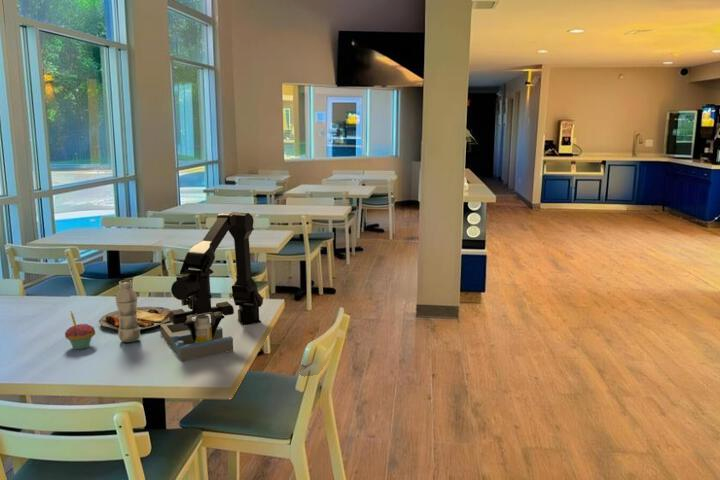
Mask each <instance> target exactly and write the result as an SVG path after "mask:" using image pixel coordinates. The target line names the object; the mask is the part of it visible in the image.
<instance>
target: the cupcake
mask: <svg viewBox="0 0 720 480" xmlns="http://www.w3.org/2000/svg"><path fill="white" fill-rule="evenodd" d="M70 316H71V320H72V323H73V326H69V327H68V329H66V330H65V332H64V336H65V339H66V340H68V341H69V342H70V344H71V347H72V349H74V350H83V349H87V348H89V347H90V345H91V340H92V338H93V337H94V336H95V335H96V330H95V328H94V326H92V325H91V324H88V323H87V324H86V323H79V324H77V323H76V318H75V316H74V313H73V312H72V310H71V311H70Z"/></svg>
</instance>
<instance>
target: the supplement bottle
mask: <svg viewBox="0 0 720 480" xmlns="http://www.w3.org/2000/svg"><path fill="white" fill-rule="evenodd" d="M195 319H196V324H195V325H194V327H195V336H196V339H195V343H198V342H203V341H208V340H212V325H211V321H210V322H209V320H210V315H208V314H207V315H201V316H195Z"/></svg>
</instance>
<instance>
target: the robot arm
mask: <svg viewBox="0 0 720 480" xmlns="http://www.w3.org/2000/svg"><path fill="white" fill-rule="evenodd" d="M253 217H254V216H253V215H252V214H251V213H250V212H238V211H237V212H234V211H232V212H230V213H228V212H227V213H226V212H224V213H223V212H221V213H219V214H217V216H216V220H215V221H214V223H213V224H212V225H211V227H210V229H209V230H208V231H207V233H206V234H205V236H204V237H203V239H202V241H200V242H199V243H197V244H195V245H193V246H191V248H190V249H189V250H188V252H186V254H185V257H184V260H183V262H182V266H181V268H180V270H179V274H180V275H178V276H176V277H175V278H176V279H175V281H174V282H173V283H172V285H171V289H170V290H171V294H172V296H173V298H175V299H177V300H179V301H180V302H181V306H184V307H185V306H187V307H188V309H190V310H189V311H185V310H184V309H183V308H180V309H173V310H172V309H171V310H172V311H170V313H169V319H170V323H173V324H180V323H183V324H184V325H187V327H188V329H189V331H190V333H191V336H192V338H193V340H194V341H195V339H196V336H195V327H194V322H193V321H192V319H193V318H196V317H197V316H201V315H207V316H208V315H209V318H210V323H211V325H212V337H214V334H215V332H216V329H217V327H219V324H220V322H221V321H222V320H223V319H225V316H232V315H234V314H235V310H234V306H233V305H232V304H231V303H229V302H228V301H222V302H216V304H215V306H213V307H212V300H211V299H212V298H213V297H212V294H211V279H210V278H211V276H210V275H212V274H214V270H213V269H211V268H212V266H213V263H214V261H215V259H216V254H215V252H216V250H217V248H218V247H219V245H220V244H221V243H222V241H223V240H224V238H225V236H226V235H227V233H228V232H229V234H230V235H231V237H232V238H233V242H234V256H235V267H236V268H235V270H236V280H235V282H234V284H232V286H231V293H232V294H231V297H232V300H233V303H234V305H235V306H238V310H237V321H238V322H239V323H241V325H243V326H248V325H255V324H259V323H262V321H261V319H260V308H261V307H262V305H263V303H264V298H263V296H262V295H261V294H260V293H259V292H258V285H257V284H256V282H255V280H254V278H252V277H253V276H252V265H251V250H250V235H251V234H252V232H253V230H254V218H253Z"/></svg>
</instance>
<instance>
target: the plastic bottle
mask: <svg viewBox="0 0 720 480" xmlns="http://www.w3.org/2000/svg"><path fill="white" fill-rule="evenodd" d="M132 282H133V281H132V280H130V279H124V280H123V279H122V280H120V281H119V282H118V288H119V290H118V291H117V293H116V295H115V298H114V299H115V302H116V307H117V311H118V314H119V330H118V331H117V332H118V333H117V335H118V339H119V340H120V342H122V343H134V342H136V341H138V340H139V339H140V337H141V330H140V328H141V327H140V326H138V320H137V307H138V305H137V304H138V295H137V293H136V292H135V290H133V288H132V287H133V284H132ZM139 327H140V328H139Z"/></svg>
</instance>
